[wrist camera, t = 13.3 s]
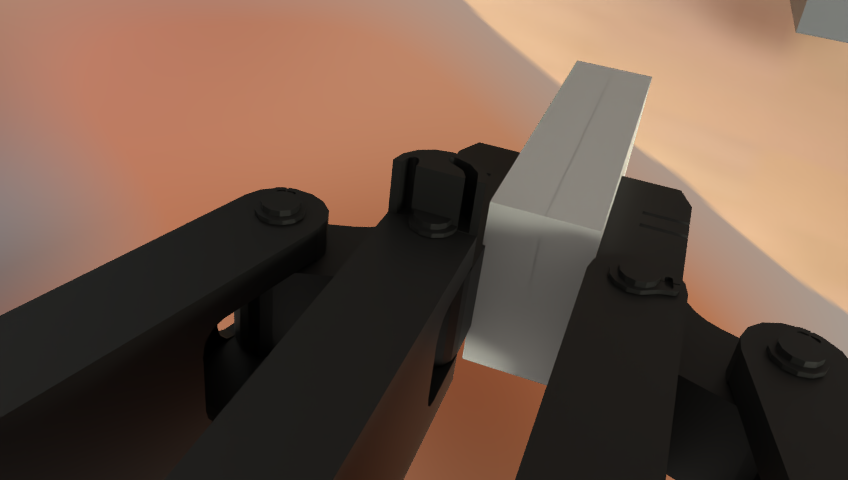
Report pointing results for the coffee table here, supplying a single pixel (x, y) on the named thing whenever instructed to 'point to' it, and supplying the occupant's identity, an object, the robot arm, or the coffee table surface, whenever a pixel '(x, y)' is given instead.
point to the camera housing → (821, 18)
